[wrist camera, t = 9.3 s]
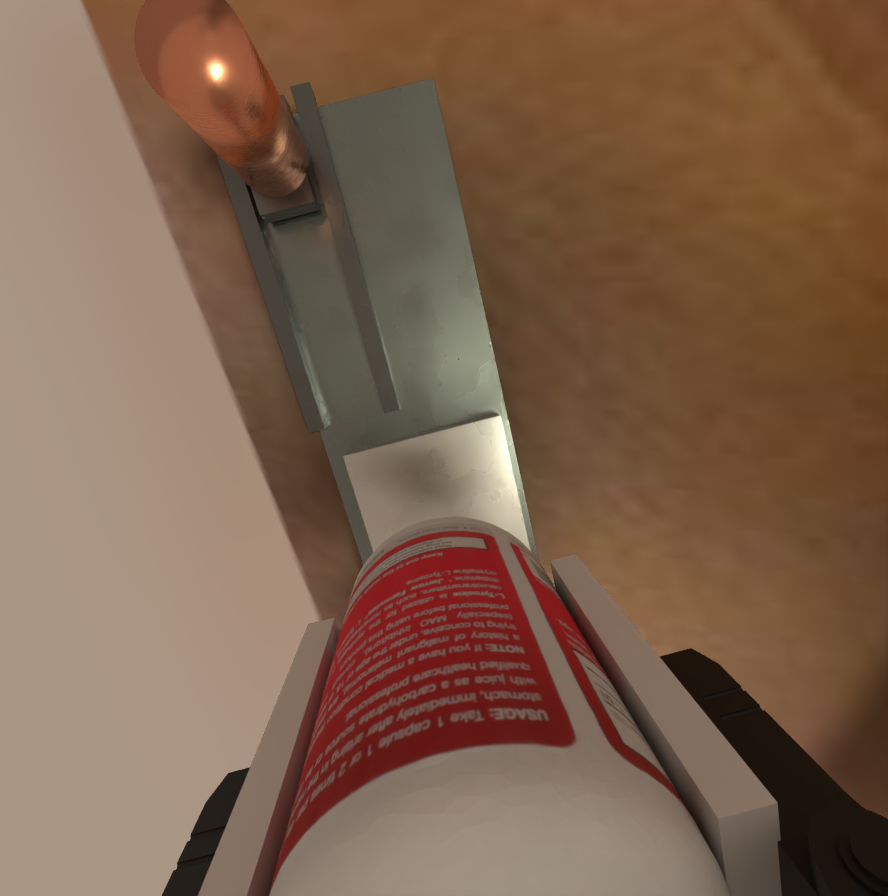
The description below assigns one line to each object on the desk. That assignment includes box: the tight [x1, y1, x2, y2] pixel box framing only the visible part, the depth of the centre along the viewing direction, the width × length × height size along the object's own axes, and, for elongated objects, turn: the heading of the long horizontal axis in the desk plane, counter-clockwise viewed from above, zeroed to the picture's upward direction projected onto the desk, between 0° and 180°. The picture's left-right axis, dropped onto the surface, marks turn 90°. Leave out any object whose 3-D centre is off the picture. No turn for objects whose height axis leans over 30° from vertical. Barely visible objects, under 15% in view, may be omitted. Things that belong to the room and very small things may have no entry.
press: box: [215, 78, 539, 565], centre depth 14 cm, size 30×10×17 cm, turn 14°
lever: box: [135, 0, 320, 223], centre depth 14 cm, size 4×3×7 cm
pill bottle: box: [269, 517, 731, 896], centre depth 8 cm, size 6×6×11 cm
